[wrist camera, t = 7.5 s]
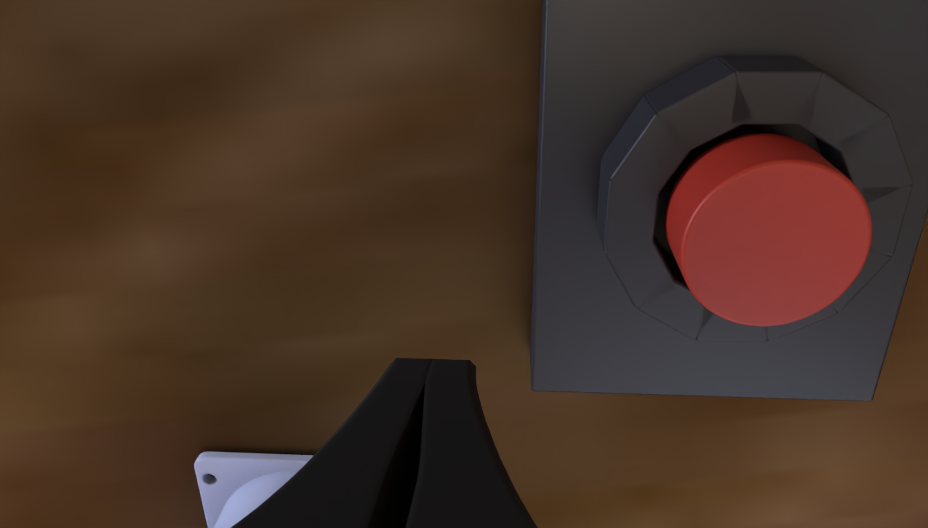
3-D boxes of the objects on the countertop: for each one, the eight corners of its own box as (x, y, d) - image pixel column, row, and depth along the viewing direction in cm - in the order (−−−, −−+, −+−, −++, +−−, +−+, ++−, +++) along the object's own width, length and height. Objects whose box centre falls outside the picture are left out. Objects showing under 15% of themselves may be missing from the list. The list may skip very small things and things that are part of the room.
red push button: (817, 287, 18) (850, 330, 17) (655, 284, 19) (670, 326, 17) (853, 132, 17) (894, 161, 15) (674, 130, 17) (693, 159, 15)
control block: (843, 360, 23) (902, 443, 20) (529, 351, 24) (532, 430, 20) (961, -91, 18) (1075, -89, 14) (545, -87, 18) (552, -84, 15)
